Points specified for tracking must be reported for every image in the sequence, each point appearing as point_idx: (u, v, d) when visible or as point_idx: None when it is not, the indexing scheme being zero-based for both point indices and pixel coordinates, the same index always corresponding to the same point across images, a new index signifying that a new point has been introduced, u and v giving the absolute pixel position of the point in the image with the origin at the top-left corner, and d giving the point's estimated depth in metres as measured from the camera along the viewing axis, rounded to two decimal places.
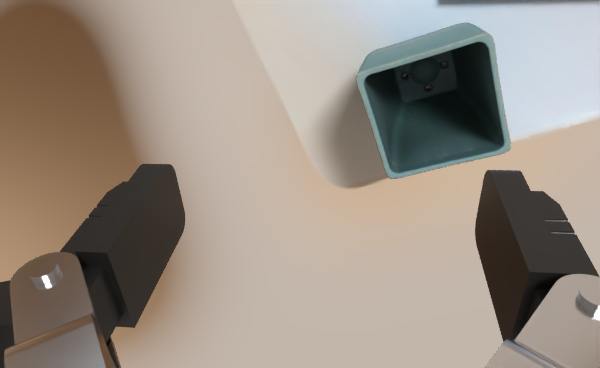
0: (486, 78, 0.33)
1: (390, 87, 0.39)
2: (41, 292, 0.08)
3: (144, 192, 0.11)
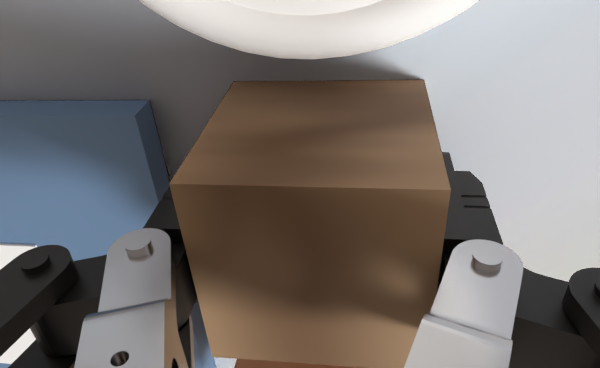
0: None
1: None
2: (139, 264, 0.09)
3: None
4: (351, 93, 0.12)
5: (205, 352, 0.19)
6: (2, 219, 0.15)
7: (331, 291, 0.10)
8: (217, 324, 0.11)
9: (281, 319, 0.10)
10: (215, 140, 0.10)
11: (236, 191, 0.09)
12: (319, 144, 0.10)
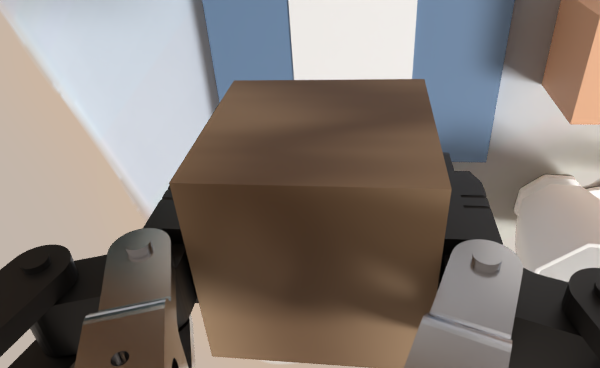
0: None
1: None
2: (140, 264, 0.09)
3: None
4: (351, 92, 0.12)
5: None
6: None
7: (331, 291, 0.10)
8: (217, 324, 0.11)
9: (281, 318, 0.10)
10: (215, 139, 0.10)
11: (236, 190, 0.09)
12: (319, 143, 0.10)
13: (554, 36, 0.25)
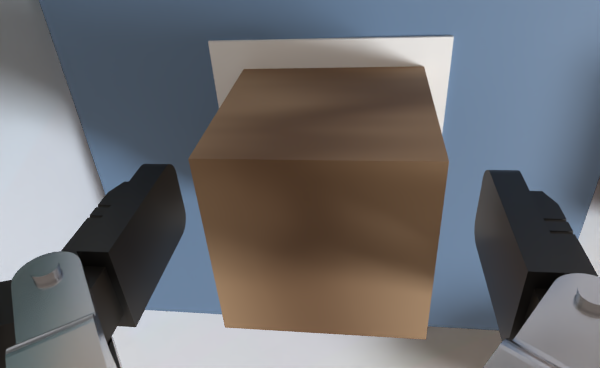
0: None
1: None
2: (43, 291, 0.08)
3: (145, 192, 0.11)
4: (355, 79, 0.12)
5: None
6: None
7: (337, 261, 0.10)
8: (230, 295, 0.12)
9: (290, 289, 0.11)
10: (229, 121, 0.11)
11: (250, 165, 0.09)
12: (326, 124, 0.10)
13: None
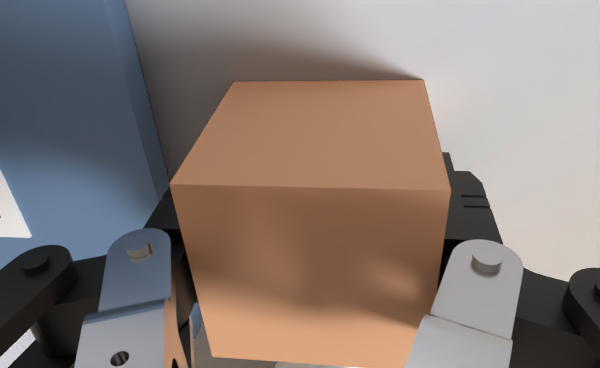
0: None
1: None
2: (140, 264, 0.09)
3: None
4: None
5: None
6: None
7: None
8: None
9: None
10: None
11: None
12: None
13: None
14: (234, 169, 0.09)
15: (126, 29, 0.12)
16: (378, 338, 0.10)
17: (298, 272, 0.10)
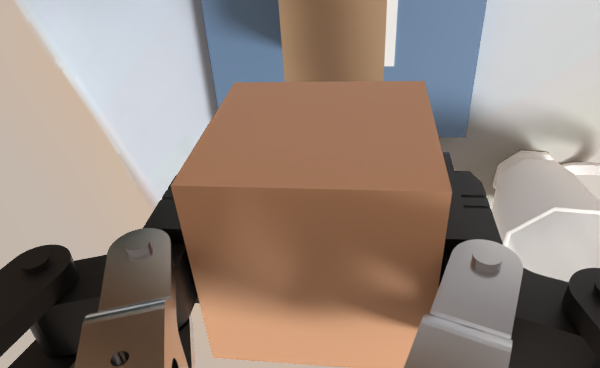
0: None
1: None
2: (140, 264, 0.09)
3: None
4: None
5: None
6: None
7: (341, 37, 0.23)
8: (289, 63, 0.24)
9: (318, 56, 0.24)
10: None
11: None
12: None
13: None
14: (235, 170, 0.09)
15: None
16: (378, 339, 0.10)
17: (300, 273, 0.10)
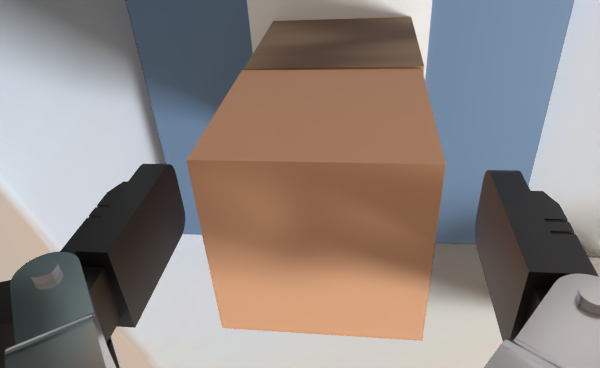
0: None
1: None
2: (42, 292, 0.08)
3: (144, 192, 0.11)
4: (359, 25, 0.17)
5: None
6: None
7: None
8: None
9: None
10: (268, 49, 0.15)
11: None
12: (338, 49, 0.14)
13: None
14: (246, 146, 0.10)
15: None
16: (377, 308, 0.11)
17: (305, 244, 0.10)
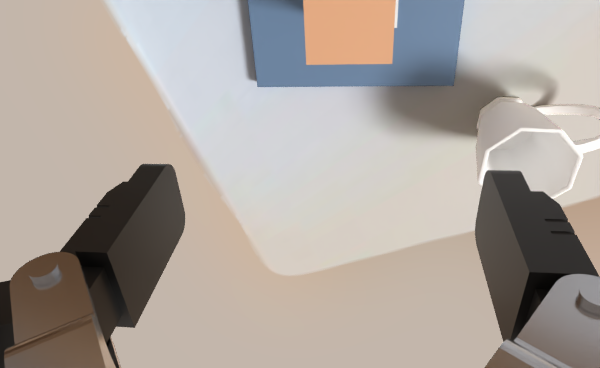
0: None
1: None
2: (41, 292, 0.08)
3: (144, 192, 0.11)
4: None
5: (461, 11, 0.35)
6: None
7: None
8: None
9: None
10: None
11: None
12: None
13: None
14: None
15: None
16: (373, 46, 0.27)
17: (344, 12, 0.26)
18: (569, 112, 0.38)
